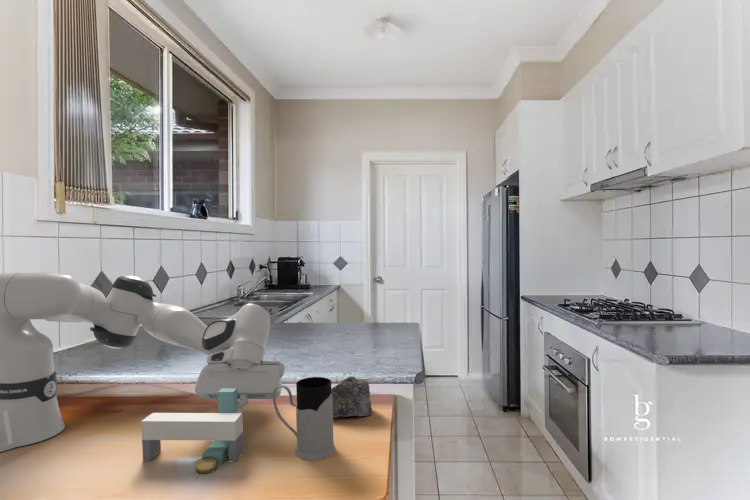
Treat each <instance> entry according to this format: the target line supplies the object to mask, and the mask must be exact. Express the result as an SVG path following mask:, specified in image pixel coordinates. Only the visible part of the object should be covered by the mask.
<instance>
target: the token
mask: <svg viewBox="0 0 750 500" xmlns="http://www.w3.org/2000/svg"><path fill="white" fill-rule="evenodd" d="M217 466H218V464H217V461H216V458H215V457H213V456H207V457H202V456H201V457H200V458H198V459H197V460H196V461H195V473H196V474H197V473H198V474H197V475H200V474H201V475H204V474H205V475H209V474H211V473H213V471H214V472H216V470H217V469H216V468H217ZM201 475H200V476H201ZM205 475H204V476H205Z"/></svg>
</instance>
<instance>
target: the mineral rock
mask: <svg viewBox="0 0 750 500" xmlns="http://www.w3.org/2000/svg"><path fill="white" fill-rule="evenodd" d="M368 381H369V380H368V379H366V378H361V379H359V378H356V377H355V376H347V377H346V378H345V379H342V381H341V382H339V383H338V384H337V385H335V386H334V387H331V394H332V403H333V418H347V417H367V416H371V414H372V410H373V407H372V402H371V396H370V395H371V392H370V384H369V382H368Z"/></svg>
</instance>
